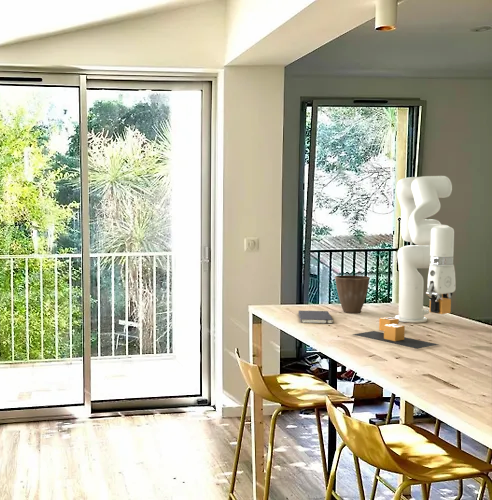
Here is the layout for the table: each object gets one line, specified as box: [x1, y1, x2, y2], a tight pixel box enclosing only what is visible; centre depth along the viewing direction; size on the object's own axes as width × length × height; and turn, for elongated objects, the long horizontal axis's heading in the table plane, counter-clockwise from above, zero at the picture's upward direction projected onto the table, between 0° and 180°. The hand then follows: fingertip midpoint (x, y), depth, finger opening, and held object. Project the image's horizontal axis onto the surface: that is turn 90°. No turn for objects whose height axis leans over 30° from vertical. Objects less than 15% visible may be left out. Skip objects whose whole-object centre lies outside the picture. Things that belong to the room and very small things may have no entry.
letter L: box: [428, 296, 452, 315], centre depth 231 cm, size 5×5×5 cm
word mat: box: [352, 330, 440, 350], centre depth 234 cm, size 12×28×1 cm, turn 30°
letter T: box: [378, 316, 400, 332], centre depth 251 cm, size 5×5×5 cm
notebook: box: [298, 310, 334, 324], centre depth 279 cm, size 13×2×21 cm
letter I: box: [383, 324, 406, 341], centre depth 234 cm, size 5×5×5 cm
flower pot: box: [334, 274, 370, 314], centre depth 294 cm, size 15×15×16 cm
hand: (439, 311), depth 231 cm, fingers closed on letter L, 5 cm apart
